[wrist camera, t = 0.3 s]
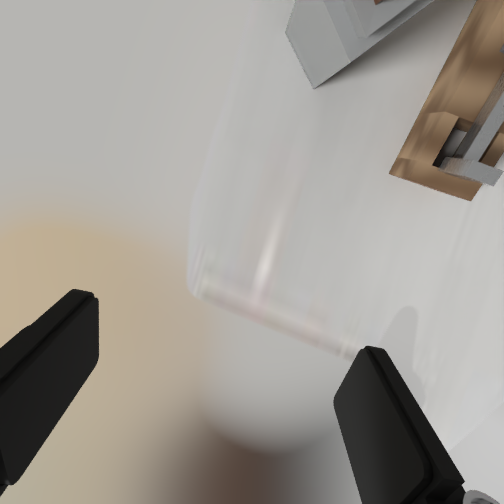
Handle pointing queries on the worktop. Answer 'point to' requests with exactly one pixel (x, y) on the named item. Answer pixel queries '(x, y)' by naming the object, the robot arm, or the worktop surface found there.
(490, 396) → the worktop surface
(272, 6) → the worktop surface
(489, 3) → the socket block
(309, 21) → the perfume bottle
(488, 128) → the lock pin
